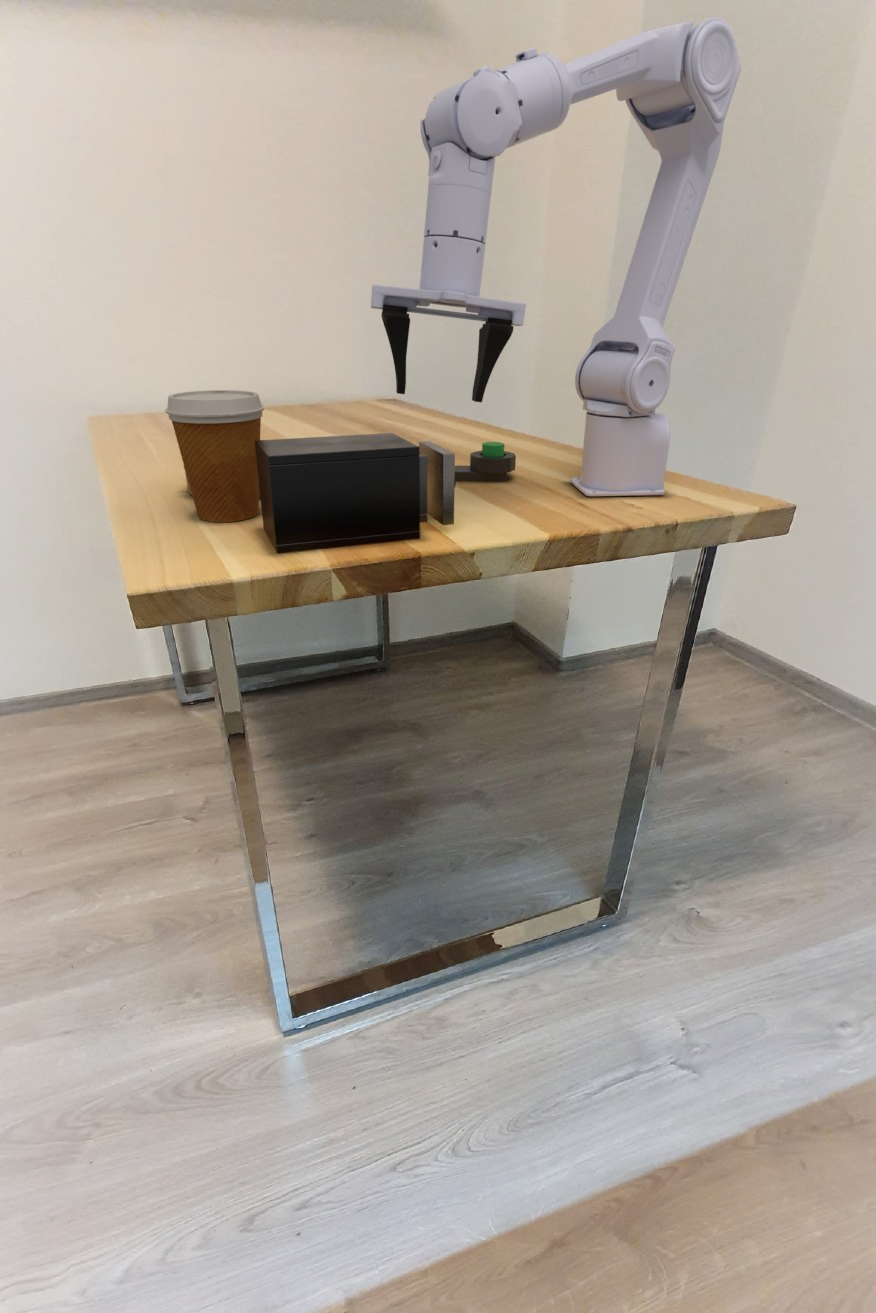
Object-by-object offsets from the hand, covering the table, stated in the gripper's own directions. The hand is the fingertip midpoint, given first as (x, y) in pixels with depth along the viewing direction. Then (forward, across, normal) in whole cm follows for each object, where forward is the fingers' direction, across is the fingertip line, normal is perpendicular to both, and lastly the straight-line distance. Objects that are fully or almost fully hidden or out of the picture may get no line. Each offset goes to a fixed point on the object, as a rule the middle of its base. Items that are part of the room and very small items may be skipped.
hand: (439, 397), depth 72 cm
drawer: (+12, -4, -4) cm, 13 cm away
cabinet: (+13, -9, -6) cm, 17 cm away
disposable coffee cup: (+14, -21, +3) cm, 25 cm away
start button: (+7, +10, +17) cm, 21 cm away
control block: (+10, +7, +18) cm, 22 cm away
